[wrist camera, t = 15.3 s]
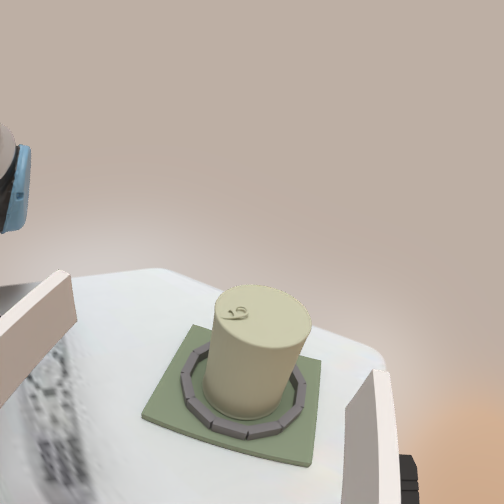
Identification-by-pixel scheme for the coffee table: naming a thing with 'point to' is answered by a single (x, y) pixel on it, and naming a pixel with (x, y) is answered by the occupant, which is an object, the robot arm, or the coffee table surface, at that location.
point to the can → (253, 350)
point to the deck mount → (228, 429)
